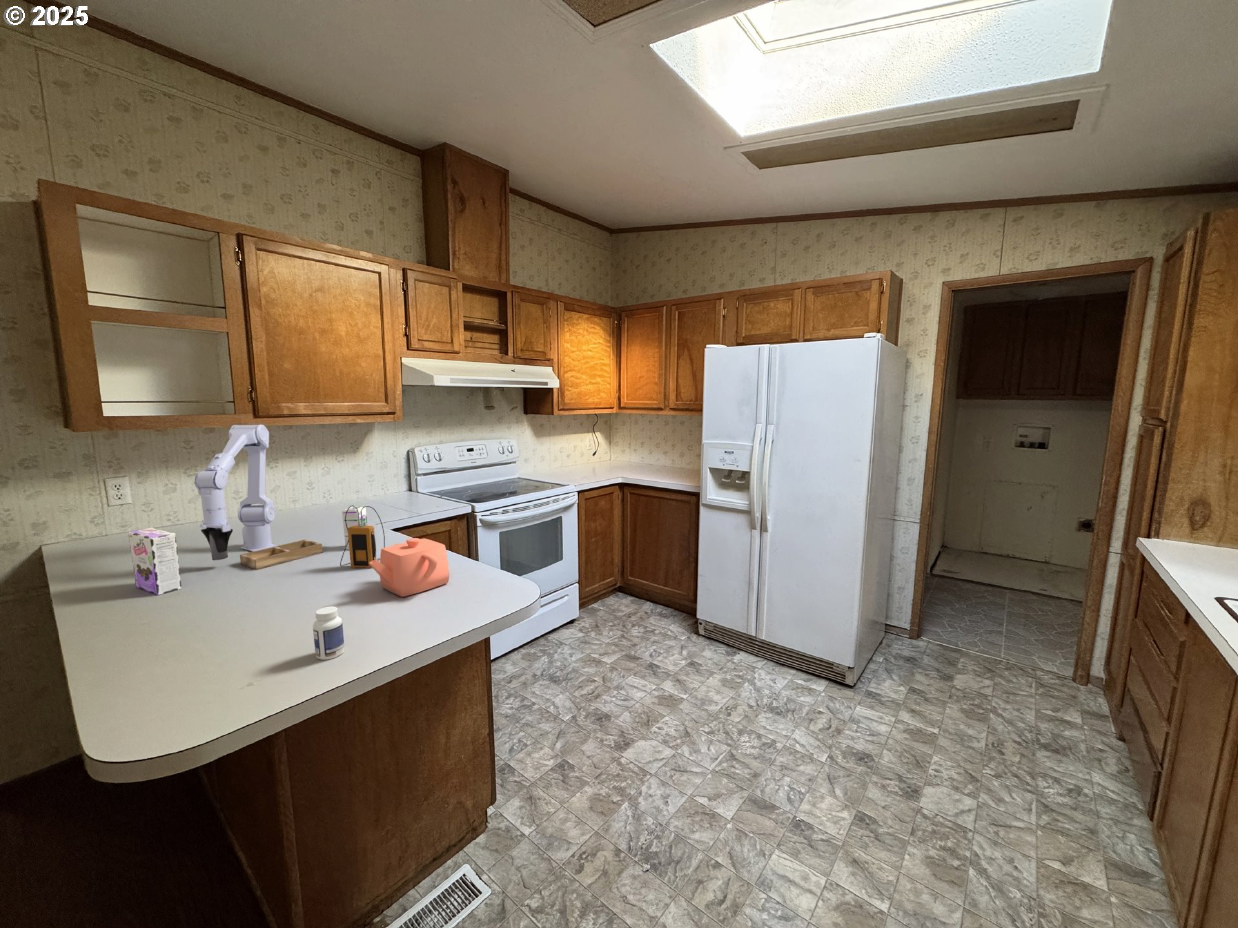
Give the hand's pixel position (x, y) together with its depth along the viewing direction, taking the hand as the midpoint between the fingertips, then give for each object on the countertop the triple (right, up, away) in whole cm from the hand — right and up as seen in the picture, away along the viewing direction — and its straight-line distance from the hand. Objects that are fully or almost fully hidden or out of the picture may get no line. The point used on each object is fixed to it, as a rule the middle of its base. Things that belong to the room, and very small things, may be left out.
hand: (219, 550), depth 163 cm
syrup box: (+33, -3, +21) cm, 39 cm away
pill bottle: (+66, -13, -54) cm, 86 cm away
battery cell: (0, -2, 0) cm, 2 cm away
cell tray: (+14, -4, +10) cm, 17 cm away
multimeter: (+46, -5, +4) cm, 46 cm away
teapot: (+67, -8, -18) cm, 70 cm away
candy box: (-5, -8, -16) cm, 19 cm away
